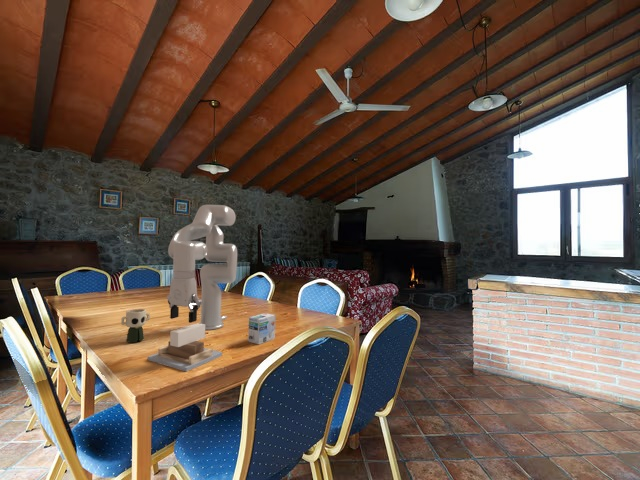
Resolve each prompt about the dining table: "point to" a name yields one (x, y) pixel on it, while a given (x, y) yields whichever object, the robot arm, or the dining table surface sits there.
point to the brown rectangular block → (186, 349)
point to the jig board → (179, 364)
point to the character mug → (135, 324)
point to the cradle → (192, 359)
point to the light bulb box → (261, 328)
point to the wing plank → (187, 334)
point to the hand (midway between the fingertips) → (183, 319)
